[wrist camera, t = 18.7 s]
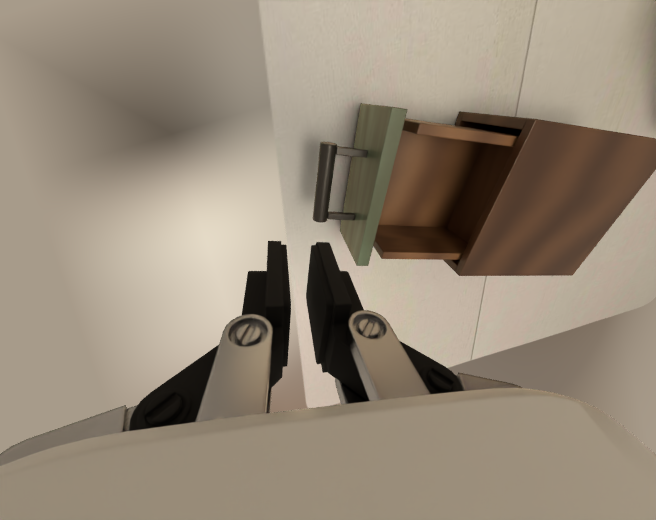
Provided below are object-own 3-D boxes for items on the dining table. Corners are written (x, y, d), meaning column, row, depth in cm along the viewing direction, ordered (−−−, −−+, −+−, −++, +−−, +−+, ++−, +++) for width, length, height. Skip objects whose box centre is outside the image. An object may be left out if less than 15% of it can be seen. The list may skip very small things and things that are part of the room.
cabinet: (416, 234, 35) (458, 275, 27) (459, 111, 27) (536, 119, 19) (510, 237, 38) (572, 275, 30) (572, 129, 30) (677, 142, 22)
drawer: (305, 229, 30) (314, 265, 24) (317, 96, 23) (333, 98, 17) (443, 234, 34) (482, 266, 28) (488, 122, 27) (554, 131, 21)
